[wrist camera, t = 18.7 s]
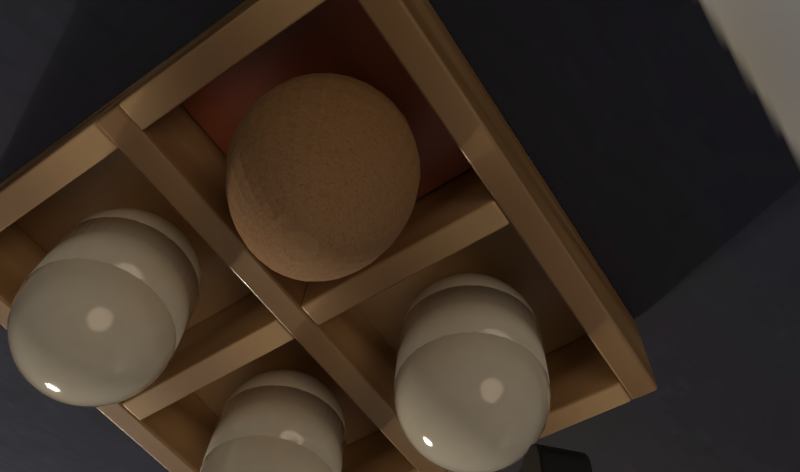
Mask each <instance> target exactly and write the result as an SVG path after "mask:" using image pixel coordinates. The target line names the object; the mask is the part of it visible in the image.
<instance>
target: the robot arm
mask: <svg viewBox="0 0 800 472" xmlns="http://www.w3.org/2000/svg"><path fill="white" fill-rule="evenodd" d="M519 472H592V468H591V463H590V460H589V458H588V456H587V455H586V454H585V453H581V452H576V451H571V450H565V449H560V448H555V447H549V446H544V445H539V444H532V445H531V446H530V447H529V449H528V451H527V453H526V455H525V458H524V460H523V463H522V465H521V468H520V470H519Z"/></svg>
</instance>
